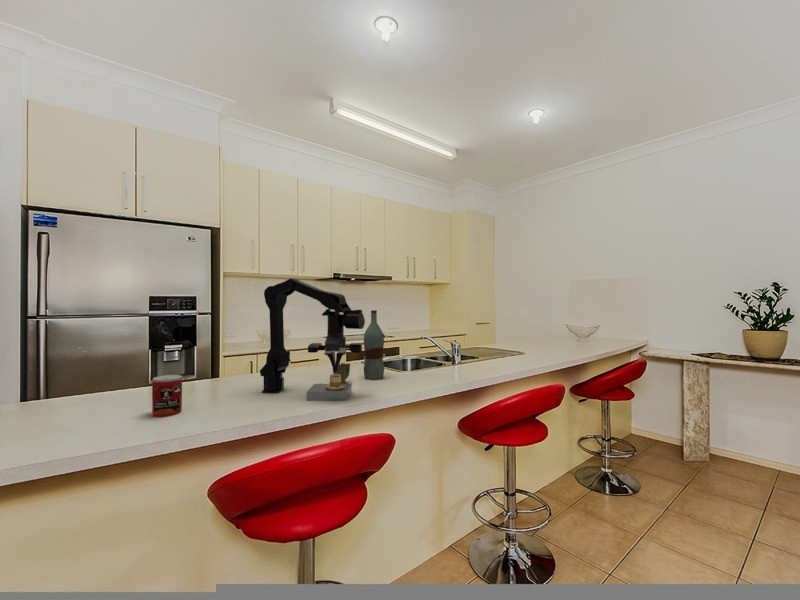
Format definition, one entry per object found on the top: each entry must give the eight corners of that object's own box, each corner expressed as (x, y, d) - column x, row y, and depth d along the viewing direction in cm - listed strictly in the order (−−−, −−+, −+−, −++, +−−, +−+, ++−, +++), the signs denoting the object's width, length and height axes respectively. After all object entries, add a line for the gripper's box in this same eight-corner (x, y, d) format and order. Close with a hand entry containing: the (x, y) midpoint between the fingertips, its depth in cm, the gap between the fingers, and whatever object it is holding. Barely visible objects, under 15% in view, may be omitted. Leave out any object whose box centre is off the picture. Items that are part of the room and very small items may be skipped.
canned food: (150, 418, 108) (150, 380, 108) (153, 411, 115) (154, 376, 115) (181, 415, 112) (181, 378, 112) (182, 408, 119) (182, 373, 119)
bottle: (362, 376, 169) (362, 310, 169) (381, 375, 171) (381, 310, 171) (365, 380, 160) (365, 310, 160) (386, 379, 162) (386, 310, 162)
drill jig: (306, 400, 128) (306, 391, 128) (314, 391, 140) (314, 383, 140) (347, 400, 128) (347, 391, 128) (351, 391, 140) (351, 383, 140)
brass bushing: (323, 397, 131) (323, 377, 131) (327, 392, 138) (327, 373, 138) (344, 397, 131) (344, 377, 131) (346, 392, 138) (346, 373, 138)
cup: (348, 385, 151) (348, 365, 151) (330, 385, 152) (330, 365, 152) (351, 381, 159) (351, 362, 159) (334, 381, 159) (334, 362, 159)
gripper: (304, 330, 126) (304, 376, 126) (359, 330, 126) (359, 376, 126) (311, 327, 137) (311, 370, 137) (362, 327, 138) (362, 370, 138)
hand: (335, 371), depth 134 cm, fingers closed
